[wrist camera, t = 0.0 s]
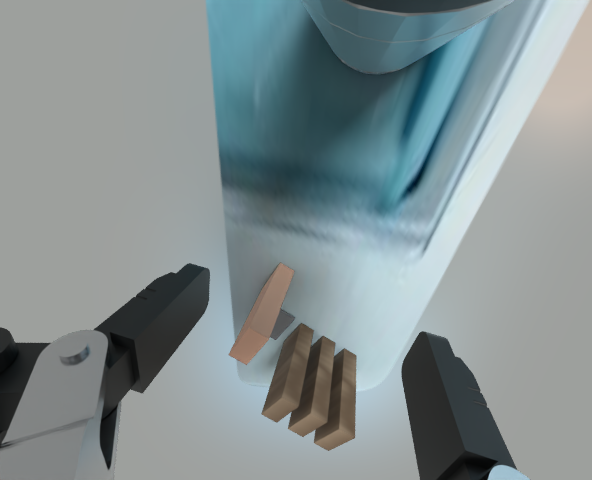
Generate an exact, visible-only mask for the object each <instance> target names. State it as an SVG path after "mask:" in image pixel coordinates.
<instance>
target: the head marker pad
mask: <svg viewBox="0 0 592 480" xmlns="http://www.w3.org/2000/svg"><path fill="white" fill-rule="evenodd" d="M294 319H295V317H293V316H292V315H290V314H288V313H287V312H285V311H283V310H281V309H280V311H279V314H278V317H277V319H276V322H275V325H274V327H273V330H272V333H271V335H270V337H271V338H273V339H275V340H276V339H277V338H278V337H279V336H280V335H281V333H282V332H283V331H284V330H285V329H286V328H287V327H288V326H289V325H290V323H291V322H292V321H293V320H294Z"/></svg>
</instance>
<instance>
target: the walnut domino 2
mask: <svg viewBox="0 0 592 480" xmlns="http://www.w3.org/2000/svg"><path fill="white" fill-rule="evenodd" d="M334 350H335V343H334V342H333V341H331V340H329V339H328V338H326V337H324V336H322V337H321V338H320V339H319V340H318V341H317V342H316V343H315V344H314V345H313V346H311V347H310V352H309V357H308V362H307V367H306V372H305V377H304V382H303V387H302V392H301V397H300V402H299V407H297V408H296V409H295V410H293V411H292V413H291V417H290V422H289V427H288V429H290V430H291V431H293V432H295V433H297V434H299V435H300V436H302V437H304V436H305V435H307V434H308V433H310V432H312V431H314V430H315V429H317V428H319V427H320V426H322V425H324V424H325V423H327V419H328V409H329V399H330V389H331V379H332V370H333V360H334Z"/></svg>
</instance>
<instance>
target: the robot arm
mask: <svg viewBox="0 0 592 480" xmlns="http://www.w3.org/2000/svg"><path fill="white" fill-rule="evenodd" d="M513 1H515V0H301V2H302V3H303V5H304V6H305V8H306V10H307V11H308V13H309V14H310V16H311V17H312V19H313V21H314V22H315V24H316V25H317V27H318V28H319V30H320V32H321V33H322V35H323V36H324V38H325V39H326V41H327V43H328V44H329V46H330V47H331V49H332V50H333V52H334V53H335V54H336V55H337V57H338V58H339V59H340V60H341V61H342V62H343V63H344V64H346V65H347V66H349V67H351V68H352V69H354V70H356V71H359V72H362V73H365V74H377V75H380V74H386V73H391V72H395V71H398V70H400V69H402V68H404V67H407V66H408V65H410V64H412V63H413V62H415V61H417V60H419V59H420V58H422V57H424V56H425V55H427V54H429V53H430V52H432V51H434V50H435V49H437V48H439V47H440V46H442V45H444V44H445V43H447V42H448V41H450V40H452V39H453V38H455V37H457V36H458V35H460V34H462V33H463V32H465V31H467V30H468V29H470V28H471V27H473V26H475V25H476V24H478V23H480V22H481V21H483V20H485V19H486V18H488V17H490V16H491V15H493V14H494V13H496V12H498V11H499V10H501V9H503V8H504V7H506V6H507V5H509V4H510V3H512V2H513ZM209 279H210V272H209V269H208V268H204V267H201V266H197V265H194V264H190V263H189V264H187V265H186V266H184V267H183V268H182V269H181V270H180V271H179V272H177V273H172V272H171V273H168V274H166V275H164V276H162V277H159V278H157V279H156V280H154V281H153V282H152V283H151V284H149V285H148V286H147V287H146V289H145V290H144V289H143V290H142V291H141V292H140V293H138V294H137V295H136V297H133V298H132V299H131V300H130V301H129V302H128V303H126V304H125V305H124V306H122V307H121V308H120V309H119V310H118V311H116V312H115V313H114V314H113V315H111V316H110V317H109V318H108V319H107V320H105V321H104V322H103V323H101V324H100V325H99V326H98V327H97V328H95V329H94V330H82V331H77V332H73V333H70V334H67V335H65V336H62V337H61V338H59V339H57V340H55V341H54V342H52V343H15V342H14V339H13V337H12V335H11V333H10V332H9V331H8V330H7V329H4V328H0V480H114V470H115V461H116V451H117V442H118V441H117V440H118V432H119V422H120V412H121V400H122V398H123V397H124V396H125V395H126V393H127V392H128V391H129V390H130V389H131V390H134V391H137V392H140V393H143V392H144V391H145V390H146V388H147V387H148V386H149V384H150V383H151V382H152V380H153V379H154V378H155V377H156V375H157V374H158V373H159V371H160V370H161V369H162V367H163V366H164V365H165V364H166V362H167V361H168V360H169V358H170V357H171V356H172V354H173V353H174V352H175V351H176V349H177V348H178V346H179V345H180V344H181V343H182V341H183V340H184V339H185V338H186V336H187V335H188V334H189V332H190V331H191V330H192V328H193V327H194V326H195V325H196V323H197V322H198V321H199V319H200V318H201V317H202V315H203V314H204V312H205V310H206V308H207V305H208V301H209V281H210V280H209ZM402 381H403V387H404V392H405V398H406V403H407V409H408V415H409V420H410V425H411V431H412V437H413V442H414V448H415V454H416V459H417V465H418V470H419V476H420V480H530V479H529V478H528V477H526V476H525V475H524V474H522V473H521V472H519V471H518V470H517V468H516V466H515V464H514V462H513V460H512V458H511V455H510V454H509V451H508V449H507V447H506V445H505V442H504V440H503V438H502V436H501V434H500V432H499V429H498V427H497V425H496V423H495V421H494V419H493V416H492V414H491V412H490V410H489V408H487V403H486V401H485V399H484V397H483V395H482V393H480V388H479V386H478V384H477V382H476V379H475V377H474V375H473V373H472V372H471V371H470V370H469V368H468V367H467V366H466V365H465V363H464V362H463V361H462V360H461V359H460V358H458V357H455V356H454V353H453V351H452V349H451V346H450V344H449V342H448V340H447V339H446V338H444V337H441V336H437V335H434V334H431V333H427V332H420V333H419V335H418V336H417V338H416V340H415V341H414V343H413V345H412V347H411V349H410V350H409V352H408V353H407V355H406V357H405V359H404V361H403V365H402Z"/></svg>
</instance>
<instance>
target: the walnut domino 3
mask: <svg viewBox="0 0 592 480" xmlns="http://www.w3.org/2000/svg"><path fill="white" fill-rule="evenodd" d="M355 403H356V355H355V354H353V353H351V352H350V351H348V350H346V349H345V348H344V349H343V350H342V351H341V352H339V353H338V354H337V355H336V356H334V360H333V370H332V379H331V389H330V399H329V409H328V419H327V423H325V424H324V425H322V426H320V427H319V428H317V429H316V431H315V439H314V443H315V444H317V445H319V446H320V447H322V448H324V449H326V450H328V451H329V450H331V449H333V448H335V447H337V446H340V445H342V444H343V443H345V442H348V441H350V440H352V439H354V438H355Z"/></svg>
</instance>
